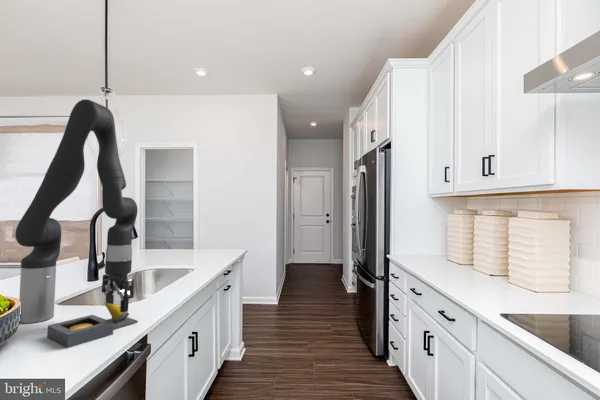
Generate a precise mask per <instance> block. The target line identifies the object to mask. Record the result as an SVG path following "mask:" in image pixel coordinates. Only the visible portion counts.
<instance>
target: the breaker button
mask: <svg viewBox="0 0 600 400" xmlns="http://www.w3.org/2000/svg"><path fill="white" fill-rule="evenodd" d="M89 326H92V324H78V325H74V326H72V327H70V328H69V330H72V331H74V330H78V329H82V328H85V327H89Z"/></svg>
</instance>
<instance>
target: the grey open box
mask: <svg viewBox="0 0 600 400" xmlns="http://www.w3.org/2000/svg"><path fill="white" fill-rule="evenodd" d="M78 324H92V326H89V327H85V328H82V329H78V330H74V331H72V330H69V328H70V327H72V326H74V325H78ZM46 334H47V335H46V338H47V339H49V340H50V341H52V342H55V343H56V344H58V345H59V346H62V347H64V348H66V349H69V348H73V347H76V346H79V345H82V344H86V343H88V342H89V343H90V342H92V341H95V340H99V339H102V338H105V337H108V336H112V335H114V330H113V322H111V321H108V320H107V319H106V318H102V317H100V316H97V315H95V314H90V315H85V316H82V317H77V318H73V319H70V320H69V319H68V320H65V321H61V322H56V323H53V324H49V325H47V333H46Z"/></svg>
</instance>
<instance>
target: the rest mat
mask: <svg viewBox="0 0 600 400" xmlns="http://www.w3.org/2000/svg"><path fill="white" fill-rule="evenodd" d="M126 318H127V319H122V320H120V321H119V322H114V321H113V320H112V317H111V318H107V319H106V320H108V321H111V322H113V331H114V330H117V329H120V328H124V327H127V326H131V325H134V324H137V323H139V320H136V319H134V318H131V317H129V316H127V317H126Z"/></svg>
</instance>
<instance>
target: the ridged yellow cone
mask: <svg viewBox="0 0 600 400" xmlns="http://www.w3.org/2000/svg"><path fill="white" fill-rule="evenodd" d="M104 305H106V306H105V307H106V309H107V310H108V313H109V314H110V316H111V318H112V320H113V321H114V322H119V321H120V320H122V319H127V318H126V317H129V315H130V313H129V310H128V311H126V312H120V305H118V304H114V303H113V304H110V303H106V302H104Z"/></svg>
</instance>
